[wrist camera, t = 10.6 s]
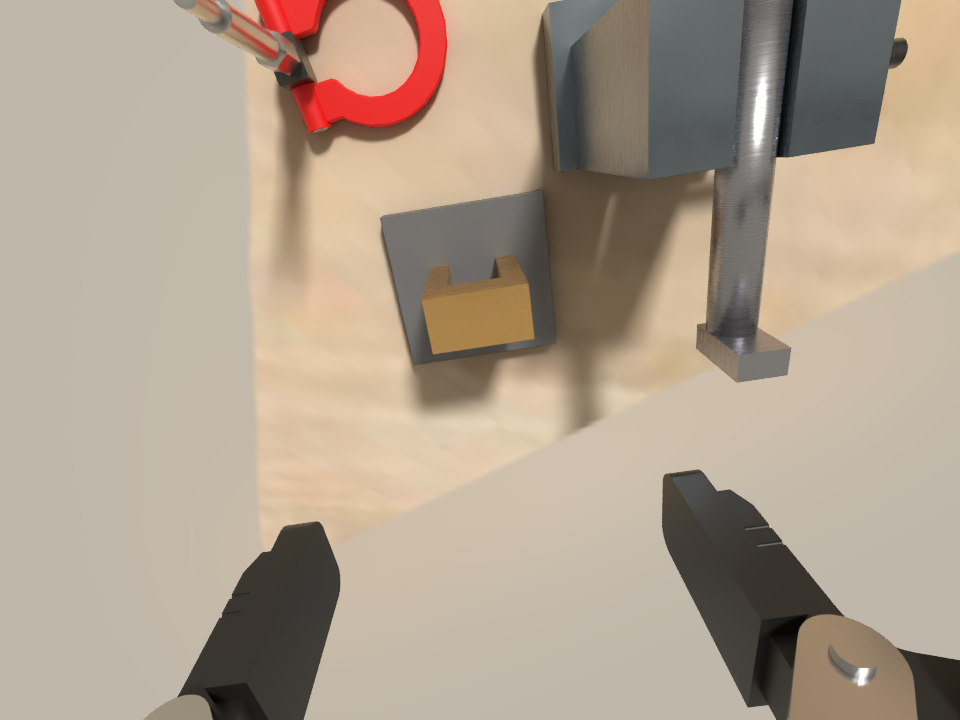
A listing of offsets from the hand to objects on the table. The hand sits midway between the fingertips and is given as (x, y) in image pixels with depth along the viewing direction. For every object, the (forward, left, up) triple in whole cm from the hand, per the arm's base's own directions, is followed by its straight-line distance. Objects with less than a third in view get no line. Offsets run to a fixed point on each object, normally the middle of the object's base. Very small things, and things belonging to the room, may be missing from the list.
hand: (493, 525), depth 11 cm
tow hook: (+4, -14, -23) cm, 27 cm away
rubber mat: (0, 0, -22) cm, 22 cm away
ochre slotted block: (0, 0, -21) cm, 21 cm away
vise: (-14, -6, -22) cm, 27 cm away
